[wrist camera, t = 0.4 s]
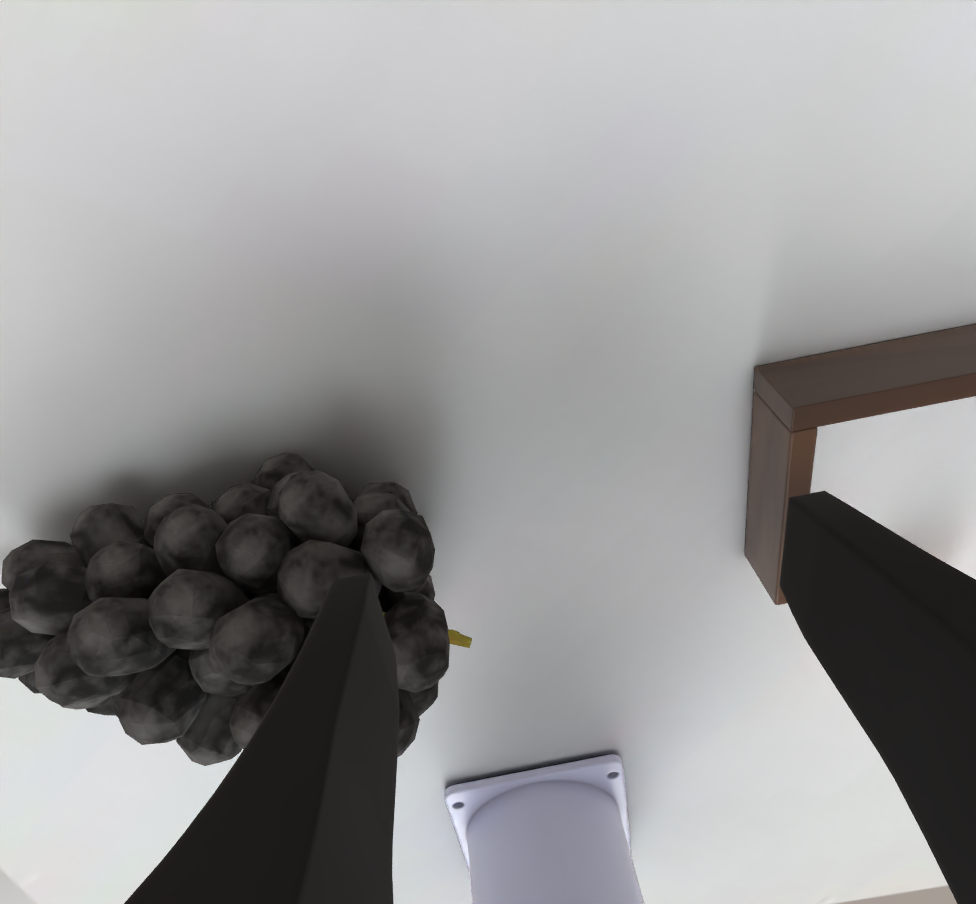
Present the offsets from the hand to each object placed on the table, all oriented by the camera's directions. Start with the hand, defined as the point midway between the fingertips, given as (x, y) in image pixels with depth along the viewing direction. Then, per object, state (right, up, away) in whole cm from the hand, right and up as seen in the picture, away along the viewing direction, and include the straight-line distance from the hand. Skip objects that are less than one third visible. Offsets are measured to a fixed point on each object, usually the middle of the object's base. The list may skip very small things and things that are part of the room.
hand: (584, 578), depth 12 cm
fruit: (-10, 0, +11) cm, 15 cm away
